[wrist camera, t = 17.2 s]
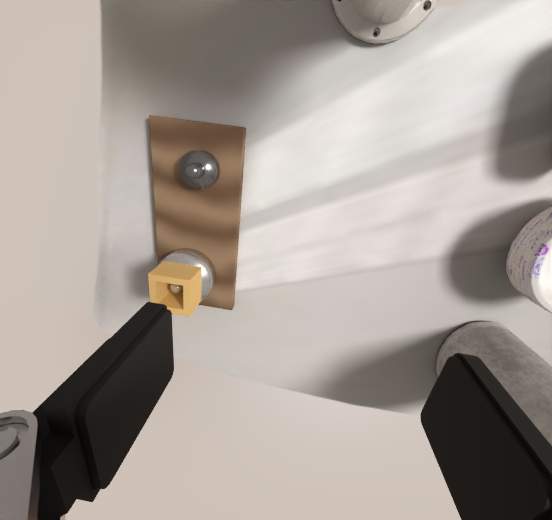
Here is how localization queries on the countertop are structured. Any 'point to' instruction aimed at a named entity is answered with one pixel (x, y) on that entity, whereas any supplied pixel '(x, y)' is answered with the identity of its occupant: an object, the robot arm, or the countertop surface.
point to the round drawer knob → (199, 169)
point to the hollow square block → (176, 275)
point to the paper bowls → (533, 260)
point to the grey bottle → (507, 367)
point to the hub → (194, 259)
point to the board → (199, 197)
